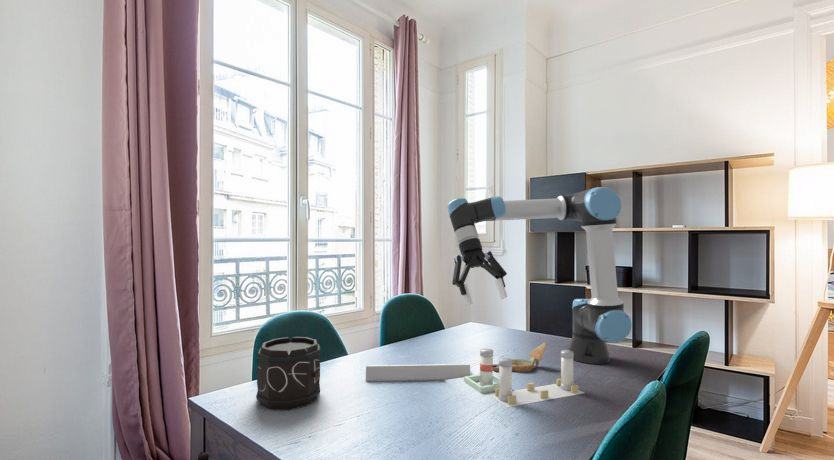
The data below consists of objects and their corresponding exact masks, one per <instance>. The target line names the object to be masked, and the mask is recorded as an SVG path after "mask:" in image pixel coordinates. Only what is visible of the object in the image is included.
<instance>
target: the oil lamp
mask: <svg viewBox="0 0 834 460" xmlns="http://www.w3.org/2000/svg"><path fill="white" fill-rule="evenodd" d="M546 348H547V342H546V341H545V342H543V343H541V344H540V345H538V346H537V347H535V348H534V349H533V350H531V351H530V352H529V354H528V355H529V356H530V359H521V358H513V359H512V358H511V359H512V372H519V373H520V372H522V373H526V372H531V371H532V370H533V369H534V368H538V367H539V363H540V361H542V359H543V358H544V355H545V352H546V350H547V349H546ZM493 372H494V373H499V363H496V364H494V363H493Z"/></svg>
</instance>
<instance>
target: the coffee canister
mask: <svg viewBox="0 0 834 460" xmlns="http://www.w3.org/2000/svg"><path fill="white" fill-rule="evenodd" d="M321 351H322V350H321V346H320V344H319V343H318V341H317V339H314V338H312V337H307V336H292V337H291V339H290V337H289V336H286V337H280V338H273V339H271V340H268V341H264V342H263V343H262V344H261V347H260V348H259V349H258V352H257V354H256V358H257V359H258V362H257V371H256V372H257V374H256V385H257V393H256V394H255V398H256V400H258V401H259V405H260V406H262V407H264V408H266V409H268V410H277V411H279V410H282V411H290V410H293V409H294V410H295V409H298V408H302V407H307V406H308V405H310V404H311V403H313V402H314V401H316V400H317V398H318V396H319V395H320V393H321V385H320V380H321V379H320V378H321V359H320V354H322V352H321Z"/></svg>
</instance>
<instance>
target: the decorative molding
mask: <svg viewBox="0 0 834 460" xmlns="http://www.w3.org/2000/svg"><path fill="white" fill-rule="evenodd" d="M465 376H471V364H467V363H437V364H436V363H435V364H434V363H433V364H432V363H431V364H427V363H426V364H422V363H421V364H373V365H372V364H370V365H365V382H391V381H392V382H395V381H396V382H399V381H401V382H402V381H405V382H406V381H446V380H453V379H460V378H461V379H462V378H464V377H465Z"/></svg>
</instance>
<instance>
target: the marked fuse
mask: <svg viewBox="0 0 834 460" xmlns="http://www.w3.org/2000/svg"><path fill="white" fill-rule="evenodd" d="M479 357H480V358H479V374H480V381H479V385H481V386H486V385H493V384H494V381H493V374H494V373H493V372H494V371H493V364H494V349H491V348H487V347H486V348H485V347H484V348H480V349H479Z"/></svg>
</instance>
